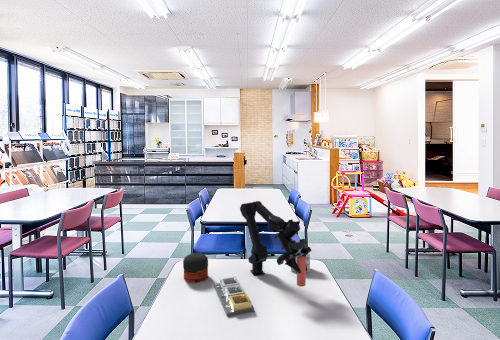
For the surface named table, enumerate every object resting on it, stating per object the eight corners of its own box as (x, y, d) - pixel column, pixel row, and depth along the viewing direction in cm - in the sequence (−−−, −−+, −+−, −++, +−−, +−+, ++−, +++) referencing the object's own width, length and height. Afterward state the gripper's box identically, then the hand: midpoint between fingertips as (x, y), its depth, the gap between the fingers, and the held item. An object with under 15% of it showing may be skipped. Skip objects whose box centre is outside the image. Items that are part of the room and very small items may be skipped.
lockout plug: (295, 284, 144) (295, 257, 143) (300, 281, 147) (301, 255, 145) (301, 287, 141) (301, 260, 140) (307, 284, 144) (307, 257, 142)
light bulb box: (309, 267, 177) (309, 249, 176) (310, 272, 170) (310, 253, 169) (290, 267, 178) (290, 248, 177) (290, 272, 171) (290, 253, 170)
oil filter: (192, 270, 173) (178, 280, 161) (191, 249, 172) (178, 257, 160) (212, 274, 168) (200, 284, 156) (212, 252, 167) (199, 261, 155)
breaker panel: (214, 286, 154) (213, 279, 154) (237, 283, 158) (237, 275, 157) (227, 316, 129) (226, 307, 128) (254, 311, 132) (254, 302, 132)
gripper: (281, 237, 139) (298, 269, 131) (309, 230, 150) (326, 259, 143) (269, 249, 146) (285, 280, 138) (297, 241, 157) (313, 269, 150)
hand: (303, 271), depth 142 cm, fingers closed on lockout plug, 4 cm apart
